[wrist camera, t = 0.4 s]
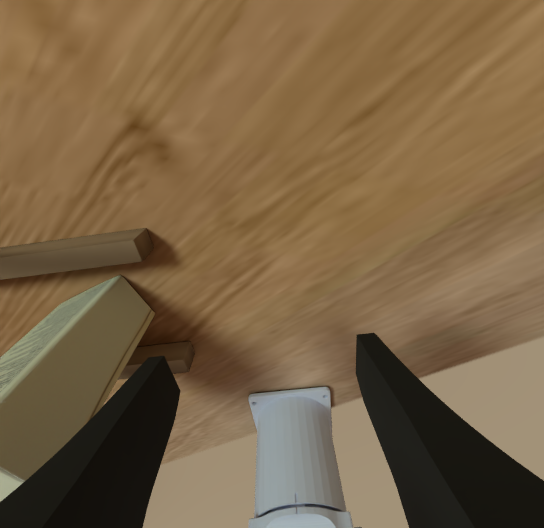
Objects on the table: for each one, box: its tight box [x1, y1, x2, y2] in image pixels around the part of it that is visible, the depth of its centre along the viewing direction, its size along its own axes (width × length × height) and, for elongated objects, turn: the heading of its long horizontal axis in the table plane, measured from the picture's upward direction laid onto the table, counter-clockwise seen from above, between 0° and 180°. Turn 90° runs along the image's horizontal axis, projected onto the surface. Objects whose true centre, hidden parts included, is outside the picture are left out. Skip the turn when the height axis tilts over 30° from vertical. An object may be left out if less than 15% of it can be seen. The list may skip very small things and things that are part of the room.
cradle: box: [0, 228, 195, 379], centre depth 21 cm, size 12×24×2 cm, turn 98°
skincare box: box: [0, 275, 155, 502], centre depth 16 cm, size 6×4×12 cm
